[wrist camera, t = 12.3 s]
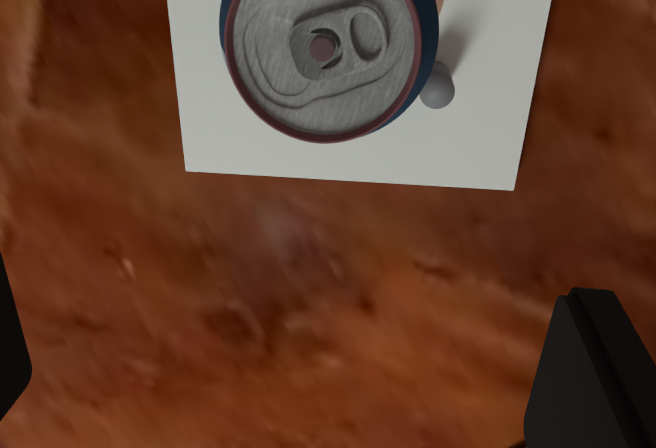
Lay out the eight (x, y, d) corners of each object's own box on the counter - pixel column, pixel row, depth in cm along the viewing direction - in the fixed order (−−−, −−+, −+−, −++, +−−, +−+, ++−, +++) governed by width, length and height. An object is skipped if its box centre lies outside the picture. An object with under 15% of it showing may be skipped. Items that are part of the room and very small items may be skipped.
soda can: (300, 81, 30) (250, 183, 19) (253, -66, 26) (164, -40, 16) (437, 43, 28) (464, 133, 18) (404, -118, 25) (414, -125, 14)
